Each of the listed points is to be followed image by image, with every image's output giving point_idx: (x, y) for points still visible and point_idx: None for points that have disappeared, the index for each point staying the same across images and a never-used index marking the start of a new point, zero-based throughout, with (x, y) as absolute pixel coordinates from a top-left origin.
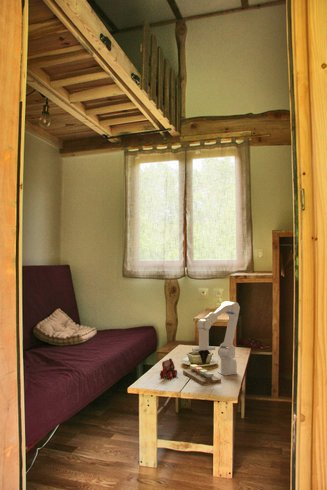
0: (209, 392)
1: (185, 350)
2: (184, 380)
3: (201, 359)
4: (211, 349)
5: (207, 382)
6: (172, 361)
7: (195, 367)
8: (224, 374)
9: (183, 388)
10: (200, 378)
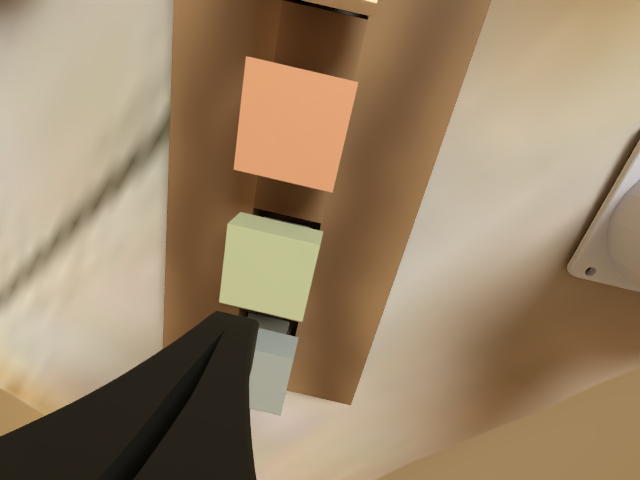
0: None
1: None
2: (90, 143)
3: (169, 352)
4: None
5: None
6: None
7: (259, 63)
8: (580, 268)
9: (4, 308)
10: (195, 290)
